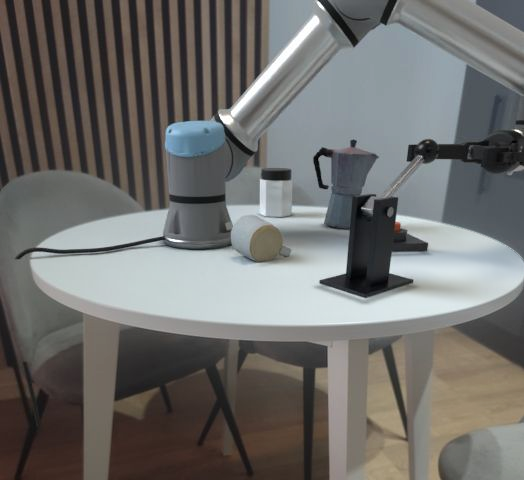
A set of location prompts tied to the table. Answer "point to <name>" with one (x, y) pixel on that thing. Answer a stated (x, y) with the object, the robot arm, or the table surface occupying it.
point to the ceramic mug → (257, 239)
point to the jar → (276, 192)
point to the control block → (407, 242)
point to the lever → (405, 173)
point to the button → (397, 227)
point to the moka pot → (344, 180)
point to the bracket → (369, 250)
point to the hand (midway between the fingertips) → (444, 155)
